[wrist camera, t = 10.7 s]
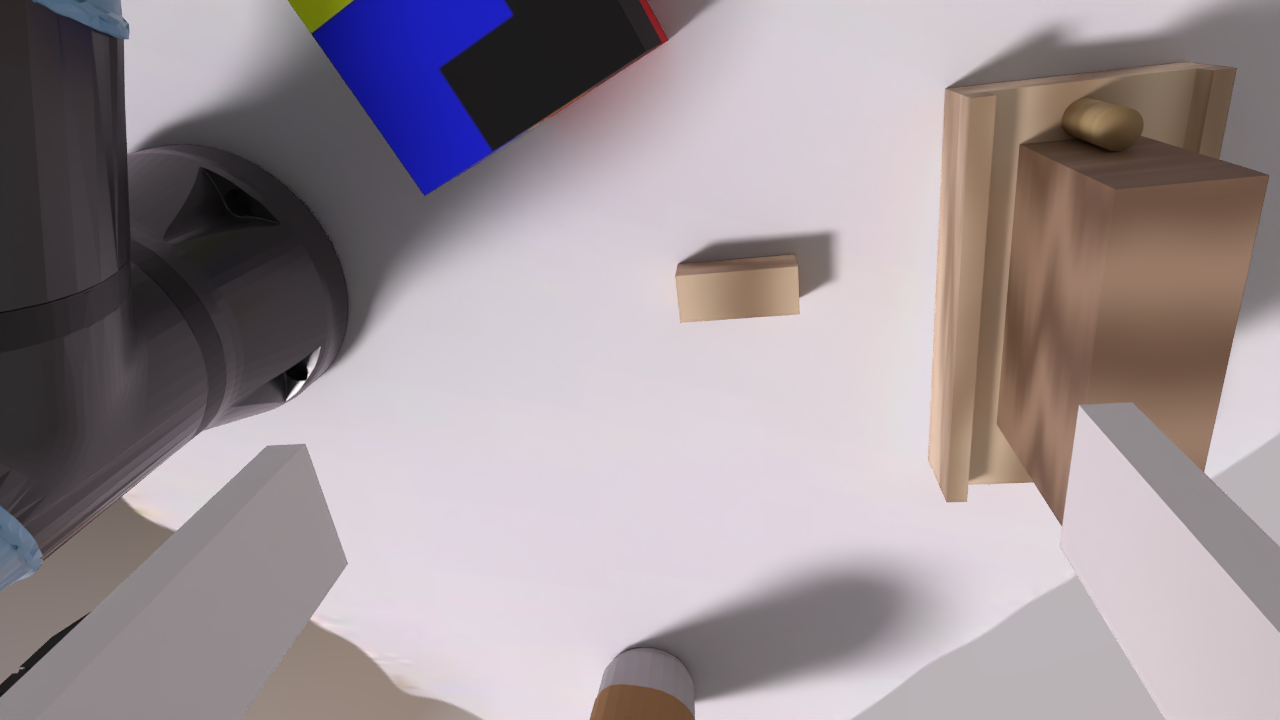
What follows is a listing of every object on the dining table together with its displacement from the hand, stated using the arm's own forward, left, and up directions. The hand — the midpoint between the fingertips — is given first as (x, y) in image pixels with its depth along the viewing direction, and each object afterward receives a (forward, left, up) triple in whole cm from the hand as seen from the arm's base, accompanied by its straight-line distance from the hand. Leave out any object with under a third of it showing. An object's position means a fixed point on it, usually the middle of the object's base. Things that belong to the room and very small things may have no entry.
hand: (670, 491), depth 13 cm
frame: (+16, -6, -24) cm, 30 cm away
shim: (+1, -6, -27) cm, 27 cm away
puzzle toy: (-8, +9, -27) cm, 30 cm away
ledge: (+16, -7, -27) cm, 32 cm away
